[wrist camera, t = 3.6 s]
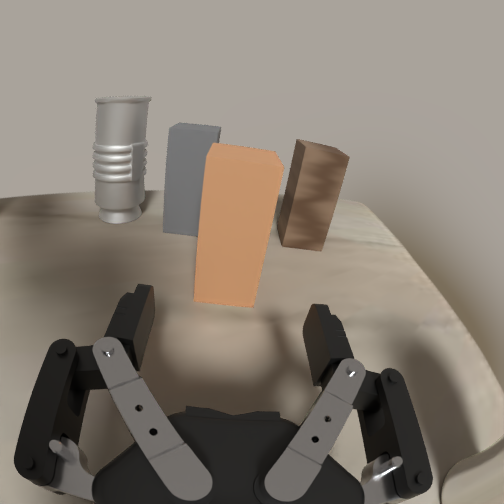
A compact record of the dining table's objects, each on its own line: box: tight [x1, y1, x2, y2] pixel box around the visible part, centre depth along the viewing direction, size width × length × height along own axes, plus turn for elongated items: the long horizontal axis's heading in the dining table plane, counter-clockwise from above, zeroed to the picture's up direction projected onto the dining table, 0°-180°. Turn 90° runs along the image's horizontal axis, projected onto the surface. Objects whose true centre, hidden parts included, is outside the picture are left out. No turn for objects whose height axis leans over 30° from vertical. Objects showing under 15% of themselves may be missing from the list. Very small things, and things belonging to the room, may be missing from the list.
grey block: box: [163, 123, 221, 236], centre depth 31 cm, size 5×5×12 cm
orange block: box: [194, 143, 284, 308], centre depth 23 cm, size 5×5×12 cm
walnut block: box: [277, 139, 349, 251], centre depth 33 cm, size 5×5×12 cm
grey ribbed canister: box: [93, 96, 151, 224], centre depth 30 cm, size 7×7×15 cm
